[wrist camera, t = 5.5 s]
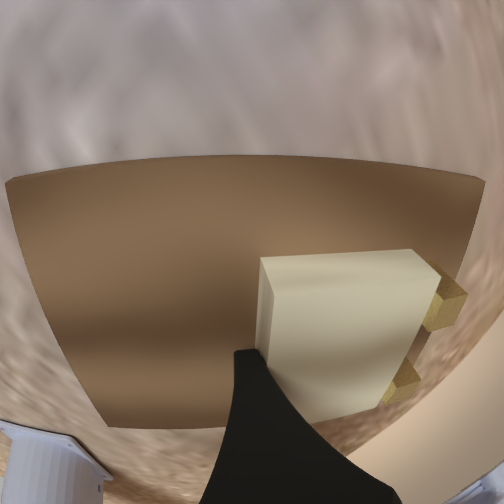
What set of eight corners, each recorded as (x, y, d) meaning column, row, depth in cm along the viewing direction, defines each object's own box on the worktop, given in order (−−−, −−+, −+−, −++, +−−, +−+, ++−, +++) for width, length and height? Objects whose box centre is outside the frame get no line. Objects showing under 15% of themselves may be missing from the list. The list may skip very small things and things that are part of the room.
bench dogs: (389, 363, 14) (409, 397, 12) (366, 369, 14) (385, 406, 12) (432, 260, 11) (468, 294, 9) (407, 262, 11) (443, 300, 9)
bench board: (393, 385, 17) (396, 392, 16) (109, 418, 14) (108, 426, 14) (476, 176, 10) (485, 181, 10) (13, 177, 7) (4, 183, 7)
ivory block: (361, 379, 14) (375, 407, 13) (251, 398, 13) (258, 432, 12) (411, 248, 11) (441, 276, 9) (260, 257, 10) (274, 295, 8)
